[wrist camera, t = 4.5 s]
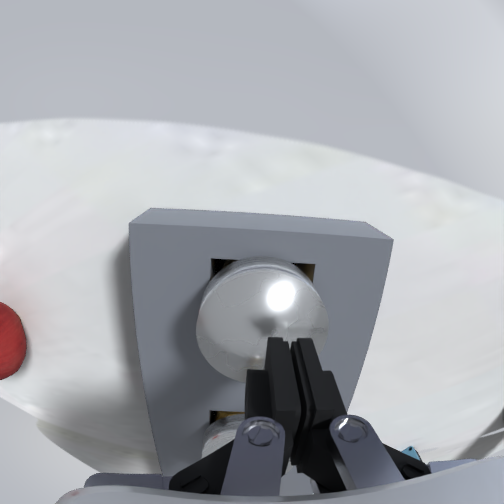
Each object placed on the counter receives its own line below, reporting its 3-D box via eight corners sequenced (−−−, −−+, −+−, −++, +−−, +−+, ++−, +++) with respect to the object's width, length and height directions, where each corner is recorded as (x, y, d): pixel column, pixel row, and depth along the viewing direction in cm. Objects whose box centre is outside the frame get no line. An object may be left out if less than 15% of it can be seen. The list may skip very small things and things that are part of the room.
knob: (309, 237, 19) (339, 275, 13) (297, 323, 20) (316, 383, 15) (209, 231, 18) (195, 268, 13) (207, 320, 20) (197, 381, 14)
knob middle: (289, 374, 22) (302, 436, 16) (279, 425, 23) (287, 484, 18) (206, 371, 21) (199, 435, 16) (207, 424, 23) (202, 483, 17)
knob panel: (365, 221, 19) (393, 239, 15) (298, 483, 27) (303, 511, 24) (150, 208, 18) (128, 223, 14) (176, 480, 27) (172, 509, 23)
